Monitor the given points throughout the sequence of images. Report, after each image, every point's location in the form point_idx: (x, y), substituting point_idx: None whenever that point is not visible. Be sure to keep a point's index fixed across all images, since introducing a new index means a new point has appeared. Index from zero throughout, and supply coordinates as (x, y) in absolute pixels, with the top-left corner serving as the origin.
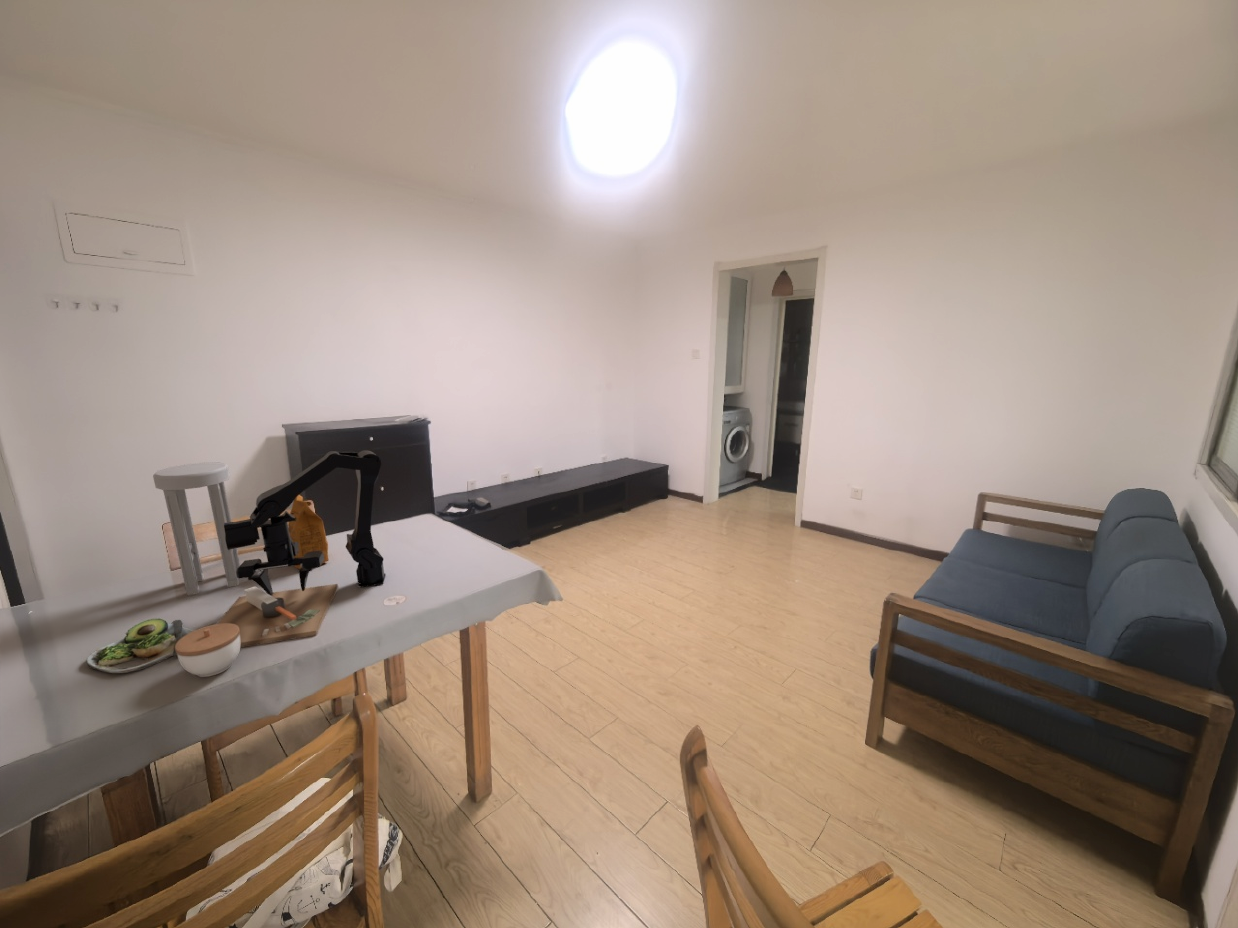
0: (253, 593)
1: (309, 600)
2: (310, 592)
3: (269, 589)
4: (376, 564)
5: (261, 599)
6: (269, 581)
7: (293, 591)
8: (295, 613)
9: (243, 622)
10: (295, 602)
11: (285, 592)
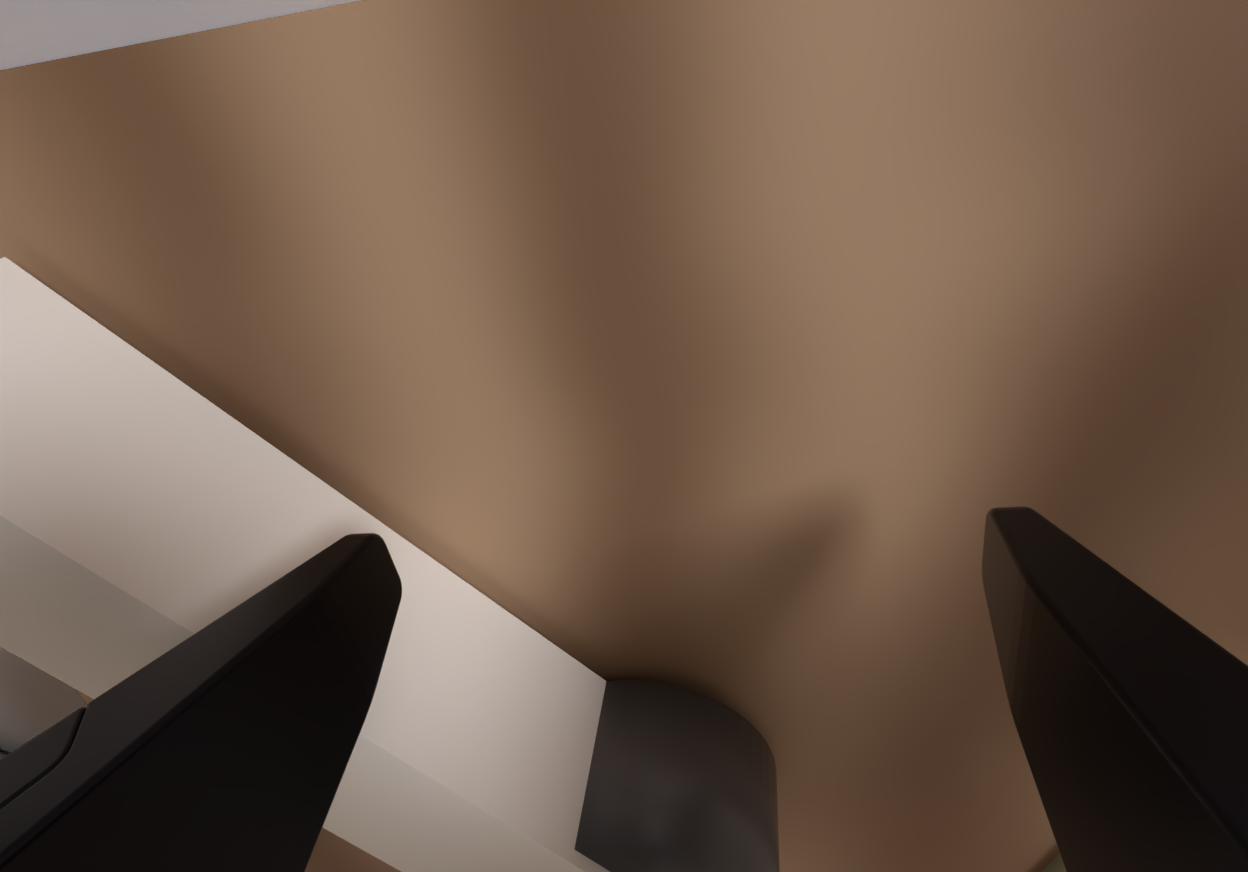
0: (83, 671)
1: None
2: (1035, 219)
3: (334, 731)
4: None
5: (405, 863)
6: (164, 769)
7: (602, 79)
8: (924, 808)
9: None
10: (829, 558)
11: (438, 103)
